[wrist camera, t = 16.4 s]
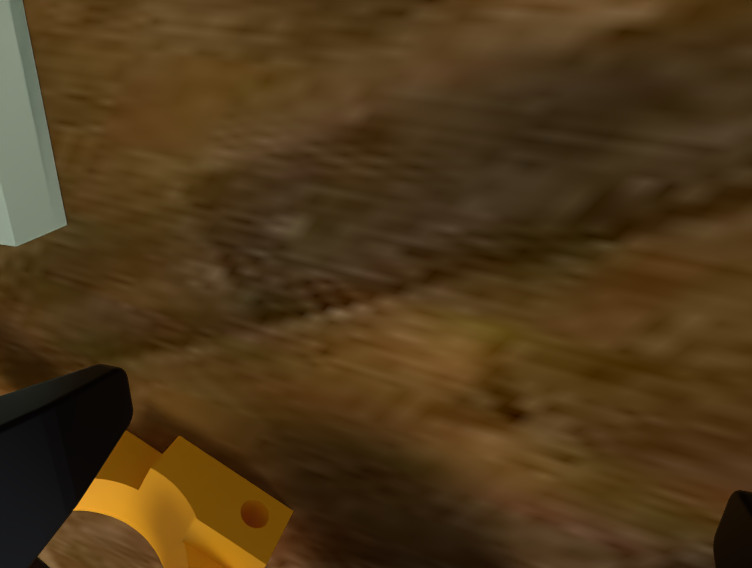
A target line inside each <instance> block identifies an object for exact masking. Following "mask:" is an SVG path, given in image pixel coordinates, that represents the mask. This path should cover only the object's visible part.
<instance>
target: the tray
mask: <svg viewBox="0 0 752 568" xmlns="http://www.w3.org/2000/svg"><path fill="white" fill-rule="evenodd" d="M66 225H67V222H66V217H65V212H64V207H63V202H62V197H61V192H60V187H59V182H58V177H57V172H56V167H55V162H54V156H53V151H52V146H51V141H50V136H49V131H48V126H47V121H46V116H45V111H44V106H43V101H42V96H41V91H40V86H39V81H38V76H37V71H36V66H35V61H34V56H33V51H32V46H31V41H30V36H29V31H28V26H27V21H26V15H25V10H24V5H23V0H0V244H2V245H8V246H15V247H17V246H19V245H21V244H24V243H26V242H28V241H31V240H33V239H36V238H38V237H40V236H43V235H45V234H47V233H50V232H52V231H54V230H57V229H59V228H61V227H64V226H66Z"/></svg>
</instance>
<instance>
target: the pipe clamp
mask: <svg viewBox="0 0 752 568" xmlns="http://www.w3.org/2000/svg"><path fill="white" fill-rule="evenodd" d="M74 510H82V511H92V512H97V513H102V514H105V515H109V516H112V517H114V518H117V519H119V520H121V521H123V522H125V523H127V524H128V525H130V526H131V527H133V528H134V529H136V530H137V531H138V532H139V533H140V534H142V535H143V536H144V537H145V539H146V540H147V541H148V542H149V543H150V544H151V546H152V547H153V548H154V550H155V551H156V553H157V555H158V556H159V559H160V561H161V563H162V565H163V568H264V567H265V566H266V565H267V563H268V561H269V559H270V557H271V555H272V553H273V551H274V549H275V547H276V545H277V543H278V541H279V539H280V537H281V535H282V533H283V531H284V529H285V527H286V525H287V523H288V521H289V519H290V517H291V515H292V514H293V512H294V511H293V510H291V509H290V508H288V507H287V506H285V505H284V504H282V503H281V502H279V501H278V500H276V499H275V498H273V497H272V496H270V495H269V494H267V493H266V492H264V491H263V490H261V489H260V488H258V487H257V486H255V485H254V484H252V483H251V482H249V481H248V480H246V479H245V478H243V477H242V476H240V475H239V474H237V473H235V472H234V471H232V470H231V469H229V468H228V467H226V466H225V465H223V464H222V463H220V462H219V461H217V460H216V459H214V458H213V457H211V456H210V455H208V454H207V453H205V452H204V451H202V450H201V449H199V448H198V447H196V446H195V445H193V444H192V443H190V442H189V441H187V440H186V439H184V438H183V437H181V436H180V435H179V436H178V437H177V438H176V439H175V440H174V442H173V443H172V444H171V445H170V446H169V447H168V448H167V450H166V451H165V452H164V453H163V454H162V453H160V452H159V451H157V450H156V449H154V448H153V447H151V446H150V445H148V444H147V443H145V442H144V441H142V440H141V439H139V438H138V437H136V436H135V435H133V434H132V433H130V432H128V431H127V430H126V431H125V432H124V434H123V435H122V437H121V438H120V440H119V441H118V443H117V445H116V446H115V448H114V449H113V451H112V452H111V454H110V456H109V457H108V459H107V460H106V462H105V463H104V465H103V466H102V468H101V470H100V471H99V473H98V474H97V476H96V477H95V479H94V480H93V482H92V484H91V485H90V487H89V488H88V490H87V491H86V493H85V494H84V496H83V497H82V499H81V500H80V502H79V503H78V505H77V506H76V507H75V509H74Z"/></svg>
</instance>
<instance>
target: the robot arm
mask: <svg viewBox="0 0 752 568" xmlns="http://www.w3.org/2000/svg"><path fill="white" fill-rule="evenodd" d="M132 415H133V406H132V400H131V394H130V388H129V383H128V377H127V374H126V372H125V371H124V370H123V369H121V368H119V367H114V366H109V365H104V364H98V365H94V366H91V367H88V368H85V369H82V370H79V371H76V372H73V373H70V374H67V375H64V376H61V377H57V378H54V379H51V380H48V381H45V382H42V383H39V384H36V385H33V386H30V387H27V388H24V389H21V390H17V391H14V392H11V393H8V394H5V395H2V396H0V568H29V567H30V565H31V564H32V563H33V561H34V560H35V559H36V558H37V556H38V555H39V554H40V553H41V551H42V550H43V549H44V547H45V546H46V545H47V544H48V542H49V541H50V540H51V538H52V537H53V536H54V535H55V533H56V532H57V531H58V529H59V528H60V527H61V526H62V524H63V523H64V522H65V521H66V519H67V518H68V517H69V515H70V514H71V513H72V511H73V510H74V509H75V507H76V506H77V505H78V503H79V502H80V500H81V499H82V497H83V496H84V494H85V493H86V491H87V490H88V488H89V487H90V485H91V484H92V482H93V480H94V479H95V477H96V476H97V474H98V473H99V471H100V470H101V468H102V466H103V465H104V463H105V462H106V460H107V459H108V457H109V456H110V454H111V452H112V451H113V449H114V448H115V446H116V445H117V443H118V441H119V440H120V438H121V437H122V435H123V434H124V432H125V431H126V429H127V427H128V426H129V424H130V422H131V419H132ZM713 552H714V560H715V566H716V568H752V492H748V491H742V490H738V491H735V492H734V493H733V494H732V495H731V496H730V498H729V500H728V503H727V505H726V508H725V511H724V513H723V516H722V518H721V521H720V523H719V526H718V528H717V531H716V533H715V537H714V544H713Z"/></svg>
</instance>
